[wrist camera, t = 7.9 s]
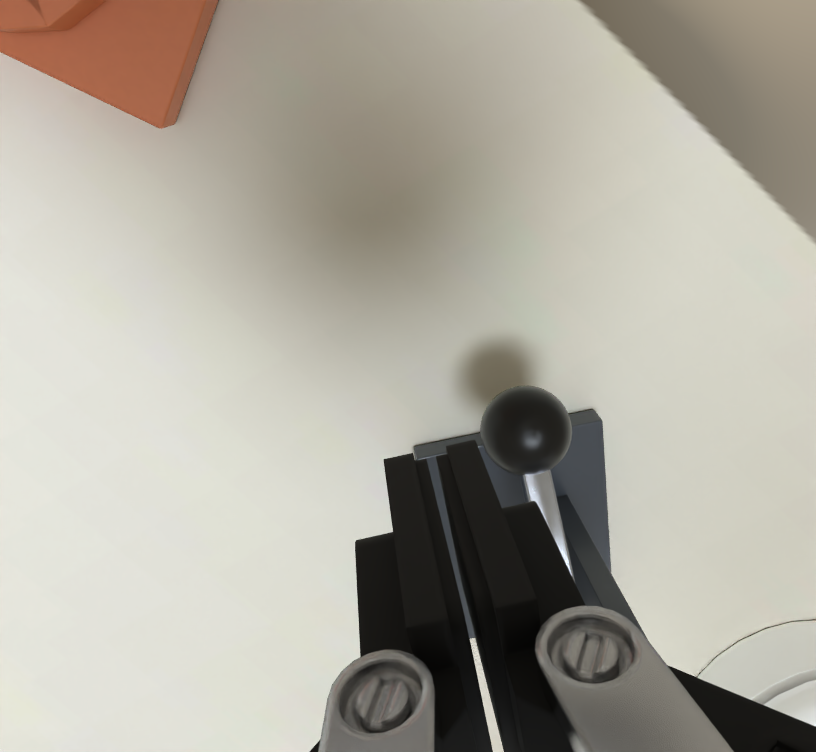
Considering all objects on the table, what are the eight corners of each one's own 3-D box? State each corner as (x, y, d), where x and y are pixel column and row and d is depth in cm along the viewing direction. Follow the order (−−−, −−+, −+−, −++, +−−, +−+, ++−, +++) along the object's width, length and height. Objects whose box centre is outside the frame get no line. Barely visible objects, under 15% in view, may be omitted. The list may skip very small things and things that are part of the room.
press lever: (467, 397, 29) (476, 393, 25) (550, 380, 29) (570, 374, 25) (534, 710, 28) (554, 752, 24) (619, 691, 28) (651, 731, 24)
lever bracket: (413, 445, 32) (453, 631, 22) (593, 408, 33) (722, 573, 22) (449, 626, 37) (496, 847, 27) (605, 592, 38) (714, 799, 27)
